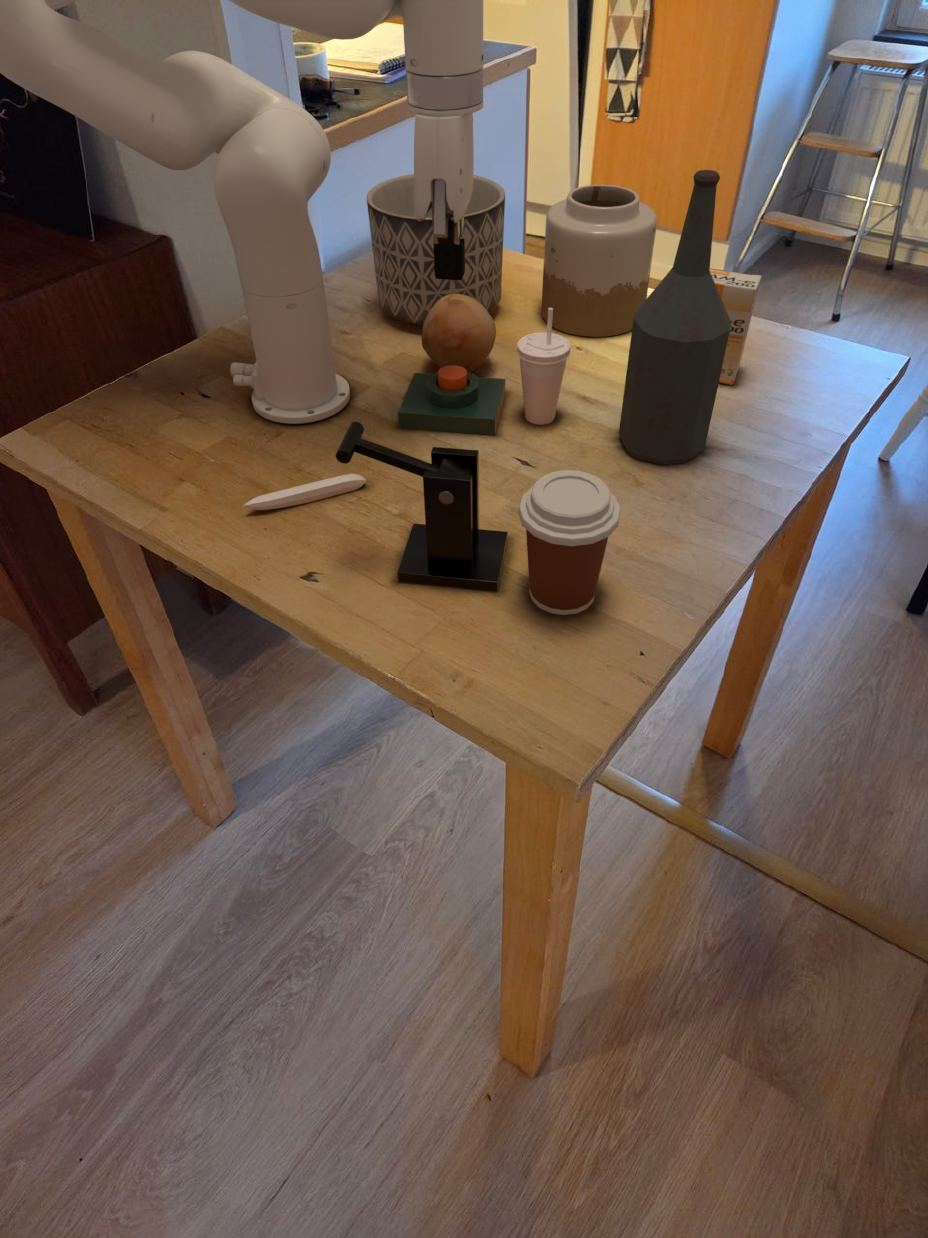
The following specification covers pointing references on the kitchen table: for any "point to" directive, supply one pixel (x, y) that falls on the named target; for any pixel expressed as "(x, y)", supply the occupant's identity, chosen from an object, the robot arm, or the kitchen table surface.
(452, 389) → the button
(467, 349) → the onion
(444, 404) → the button block
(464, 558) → the bracket
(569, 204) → the vase
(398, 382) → the kitchen table surface
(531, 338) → the smoothie
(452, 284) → the planter
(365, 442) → the lever
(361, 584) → the kitchen table surface
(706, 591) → the kitchen table surface
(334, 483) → the pen
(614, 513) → the coffee cup
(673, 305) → the bottle
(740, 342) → the supplement box
